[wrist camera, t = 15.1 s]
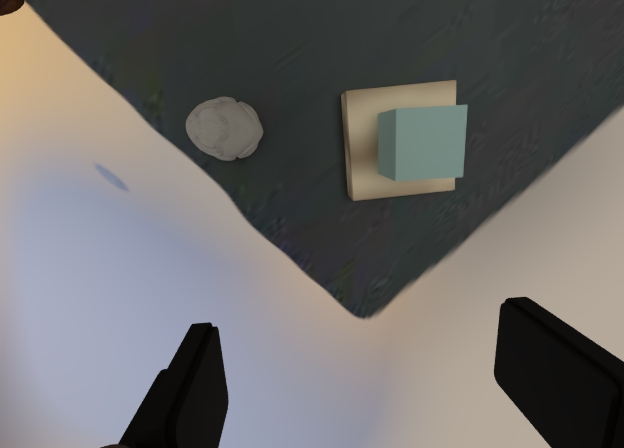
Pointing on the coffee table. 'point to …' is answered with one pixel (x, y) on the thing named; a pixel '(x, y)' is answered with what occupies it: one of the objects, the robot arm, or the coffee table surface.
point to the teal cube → (422, 142)
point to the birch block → (364, 137)
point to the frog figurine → (224, 128)
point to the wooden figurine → (10, 6)
